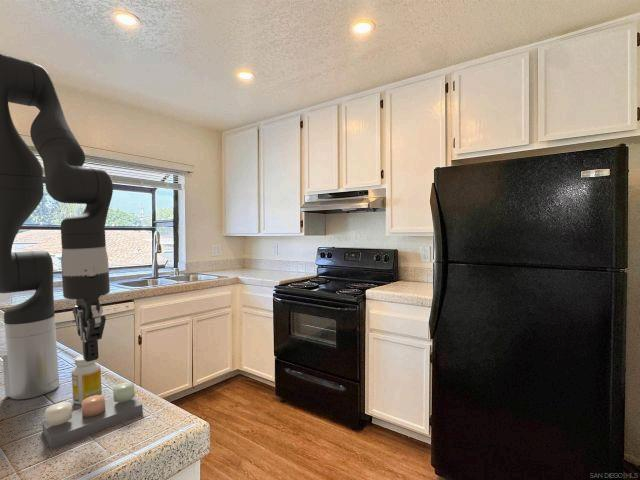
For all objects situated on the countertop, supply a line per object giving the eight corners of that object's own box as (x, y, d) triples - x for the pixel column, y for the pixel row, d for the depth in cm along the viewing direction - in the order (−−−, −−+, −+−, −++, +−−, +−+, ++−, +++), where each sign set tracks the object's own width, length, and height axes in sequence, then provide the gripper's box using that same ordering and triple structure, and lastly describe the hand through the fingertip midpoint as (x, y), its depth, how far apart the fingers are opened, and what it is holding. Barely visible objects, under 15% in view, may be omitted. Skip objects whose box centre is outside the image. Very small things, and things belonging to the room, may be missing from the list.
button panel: (51, 449, 61) (50, 438, 61) (42, 432, 67) (42, 421, 67) (142, 413, 72) (142, 404, 72) (128, 401, 77) (128, 392, 77)
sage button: (109, 402, 71) (109, 390, 71) (120, 393, 75) (119, 382, 75) (128, 401, 71) (127, 390, 71) (138, 392, 75) (137, 381, 75)
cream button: (40, 426, 63) (40, 413, 63) (56, 414, 67) (56, 402, 67) (62, 425, 63) (61, 412, 63) (76, 414, 67) (76, 401, 67)
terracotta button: (77, 417, 67) (76, 404, 67) (90, 406, 71) (90, 395, 71) (97, 416, 67) (96, 404, 67) (109, 406, 71) (108, 394, 71)
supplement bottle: (68, 406, 76) (65, 362, 76) (82, 394, 82) (79, 353, 81) (94, 404, 77) (91, 360, 77) (106, 392, 82) (104, 351, 82)
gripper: (54, 270, 70) (60, 357, 71) (71, 277, 61) (77, 375, 62) (97, 266, 75) (102, 346, 76) (119, 271, 66) (124, 362, 67)
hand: (91, 359), depth 69 cm, fingers closed
